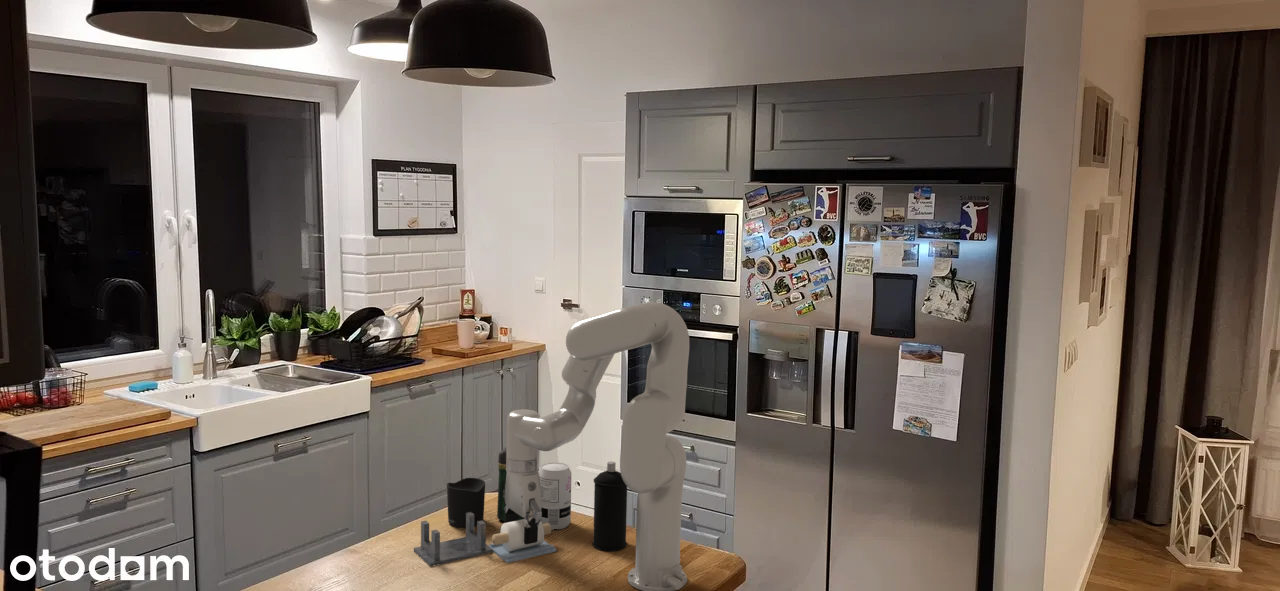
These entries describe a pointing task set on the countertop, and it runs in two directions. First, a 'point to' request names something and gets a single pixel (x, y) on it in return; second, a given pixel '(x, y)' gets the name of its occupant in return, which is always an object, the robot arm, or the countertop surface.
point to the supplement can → (555, 495)
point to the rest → (522, 551)
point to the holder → (453, 544)
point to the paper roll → (518, 535)
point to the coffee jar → (502, 485)
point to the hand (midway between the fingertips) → (520, 535)
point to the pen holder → (465, 501)
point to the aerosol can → (610, 510)
